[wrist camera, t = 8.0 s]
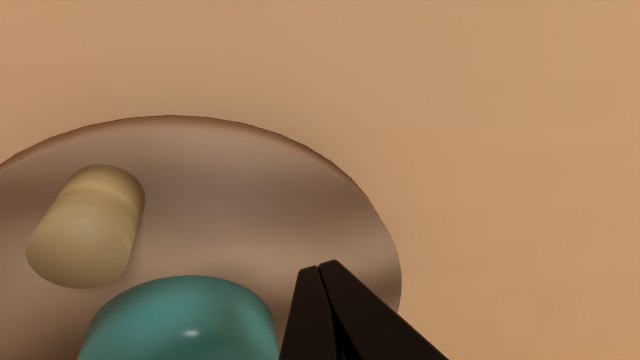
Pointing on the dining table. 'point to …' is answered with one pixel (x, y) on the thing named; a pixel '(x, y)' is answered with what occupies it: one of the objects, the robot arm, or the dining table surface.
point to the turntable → (171, 222)
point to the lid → (182, 323)
